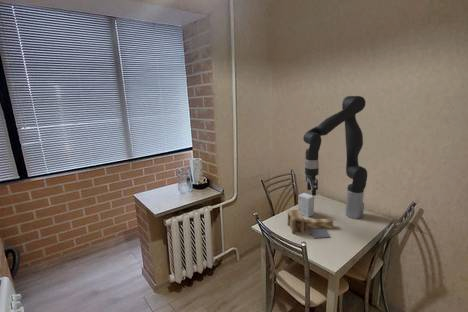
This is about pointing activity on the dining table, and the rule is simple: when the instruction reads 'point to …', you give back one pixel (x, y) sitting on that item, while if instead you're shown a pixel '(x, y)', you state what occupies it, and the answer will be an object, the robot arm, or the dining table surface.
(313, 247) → the dining table surface
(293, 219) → the oak bridge
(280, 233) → the dining table surface
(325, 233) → the slate coaster
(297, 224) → the walnut block
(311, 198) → the small box
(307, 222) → the beech rod
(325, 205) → the dining table surface
